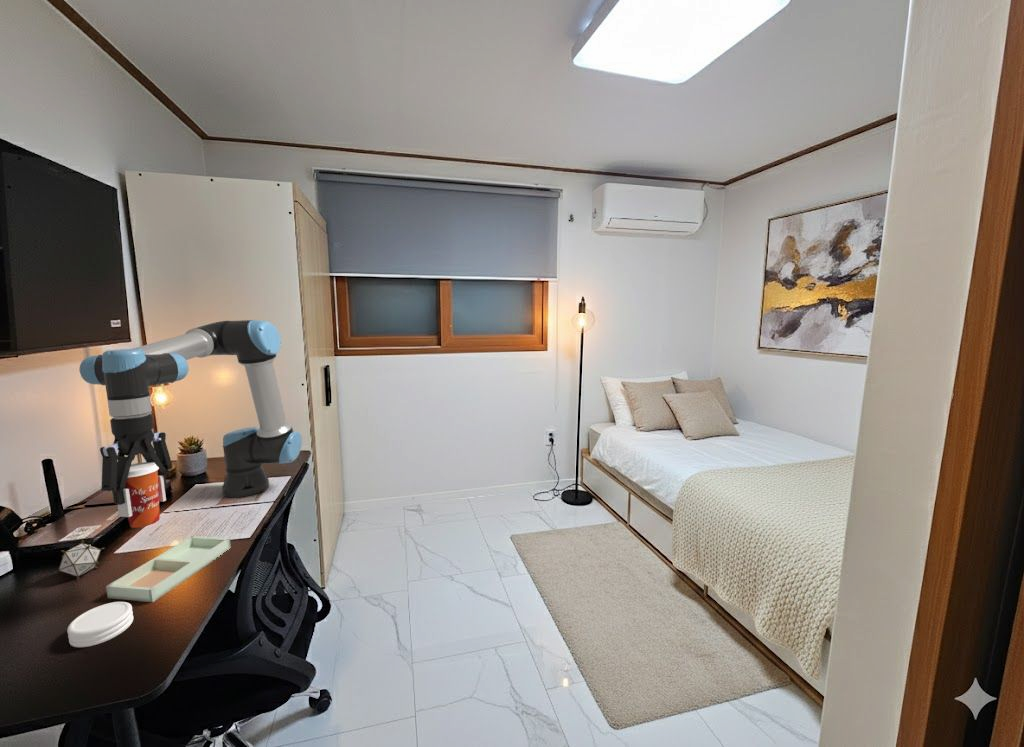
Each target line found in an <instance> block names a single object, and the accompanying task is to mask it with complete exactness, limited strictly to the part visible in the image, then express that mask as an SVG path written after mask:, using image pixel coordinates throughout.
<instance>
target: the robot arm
mask: <svg viewBox="0 0 1024 747" xmlns="http://www.w3.org/2000/svg"><path fill="white" fill-rule="evenodd" d="M281 343H282V340H281V336H280V333H279V330H278V329H277V328H276V326H275V325H274V324H272V323H271V322H270V321H267V320H259V319H249V320H247V319H244V320H221V321H217V322H216V321H215V322H211V323H208V324H204V325H202V326H197V327H193V328H190V329H189V330H187V331H186V332H185V333H184V334H180V335H177V336H174V337H169V338H166V339H162V340H160V341H155V342H151V343H147V344H145V345H141V346H140V345H139V346H138V347H136V346H135V347H133V348H126V349H125V348H123V349H111V350H106V351H104V352H103V353H102V354H97V355H89V356H87V357H85V358H84V359H83V360H82V361H81V362H80V364H79V374H80V377H81V379H82V380H83V381H85V382H86V383H88V384H90V385H101V386H105V391H106V399H107V400H106V401H107V406H108V407H107V409H108V413H109V416H110V417H111V419H109V420H110V421H109V422H110V428H111V429H110V430H111V434H112V435H113V436H114V441H113V443H112V444H110V445H108V446H102V447H100V448H99V451H100V455H101V457H102V463H101V466H102V467H101V490H102V491H103V492H112V496H113V497H112V498H113V503H114V505H117V511H118V517H120V518H121V517H123V518H128V517H131V516H132V509H131V501H130V494H129V489H125V485H126V481H127V478H128V474H129V470H130V466H131V464H132V462H133V461H134V460H135V457H136V456H138V455H139V454H140V455H141V456H142V457H143V459H144V460H145V462H154V463H155V464H156V465H157V466H158V467H159V469H158V470H157V472H158V490H159V503H160V502H166V501H167V497H166V489H165V487H166V486H167V480H166V475H168V474H169V473H170V470H172V469H173V464H172V460H171V457H170V456H171V455H170V453H169V449H168V446H167V445H168V444H167V443H166V442H167V441H166V437H167V434H166V432H161V431H159V432H158V431H157V432H153V429H154V418H153V415H152V413H151V412H152V411H153V410H152V403H151V402H152V401H151V394H150V387H152V386H159V385H164V384H173V383H175V382H178V381H181V380H183V379H185V378H186V377H187V375H188V373H189V364H188V361H187V360H191V359H193V358H206V357H209V356H236V359H237V363H239V364H240V365H241V366H243V367H244V368H245V373H246V376H247V381H248V385H249V388H250V393H251V397H252V401H253V404H254V409H255V413H256V416H257V420H258V424H259V427H257V426H251V427H243V428H239V429H235V430H232V431H230V432H227V433H226V434H224V436H223V437H222V448H223V456H224V457H223V458H224V465H225V466H224V467H225V472H226V473H225V476H224V480H223V485H222V495H223V497H226V498H242V497H249V496H252V495H253V496H254V495H257V494H259V493H261V492H263V491H265V490H267V489H268V488H269V487H270V480H269V478H268V477H267V475H266V473H265V472H266V471H265V470H264V468H263V464H288V463H289V464H290V463H292V462H294V461H295V460H296V459H297V458H298V457H299V455H300V453H301V449H302V446H303V445H302V444H303V440H302V439H303V438H302V434H301V432H299V431H297V430H296V431H295V430H294V429H293V425H292V424H291V423H290V422H289V421H287V419H286V415H285V410H284V406H283V402H282V397H281V392H280V389H279V388H280V387H279V384H278V379H277V375H276V371H275V367H274V361H275V360H276V358H277V354H278V353H279V351H280V349H281Z"/></svg>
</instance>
